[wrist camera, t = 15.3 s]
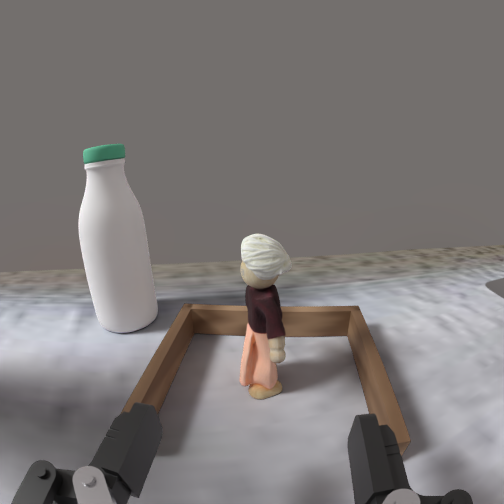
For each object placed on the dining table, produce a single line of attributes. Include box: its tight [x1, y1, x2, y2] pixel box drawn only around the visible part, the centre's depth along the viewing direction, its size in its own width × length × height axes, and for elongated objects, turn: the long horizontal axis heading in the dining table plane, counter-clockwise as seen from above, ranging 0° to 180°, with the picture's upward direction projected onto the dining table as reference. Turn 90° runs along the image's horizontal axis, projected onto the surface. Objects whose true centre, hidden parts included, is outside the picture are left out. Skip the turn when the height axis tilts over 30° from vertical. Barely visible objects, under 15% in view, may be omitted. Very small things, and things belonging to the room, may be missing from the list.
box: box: [121, 304, 411, 456], centre depth 22 cm, size 18×17×3 cm
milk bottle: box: [79, 144, 158, 333], centre depth 30 cm, size 8×8×20 cm
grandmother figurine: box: [240, 234, 292, 399], centre depth 21 cm, size 8×4×13 cm, turn 21°
